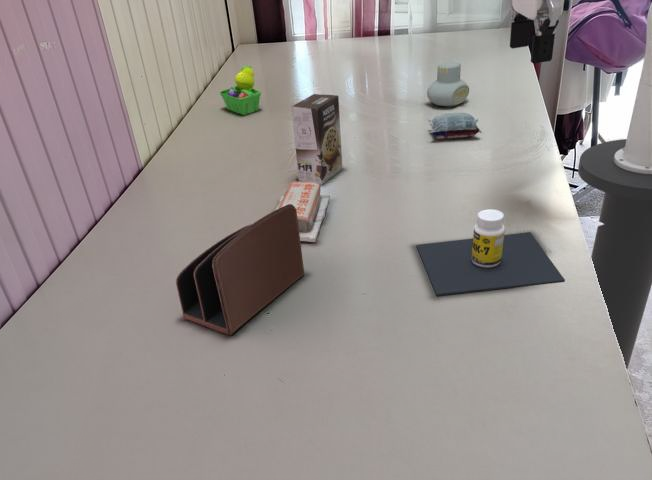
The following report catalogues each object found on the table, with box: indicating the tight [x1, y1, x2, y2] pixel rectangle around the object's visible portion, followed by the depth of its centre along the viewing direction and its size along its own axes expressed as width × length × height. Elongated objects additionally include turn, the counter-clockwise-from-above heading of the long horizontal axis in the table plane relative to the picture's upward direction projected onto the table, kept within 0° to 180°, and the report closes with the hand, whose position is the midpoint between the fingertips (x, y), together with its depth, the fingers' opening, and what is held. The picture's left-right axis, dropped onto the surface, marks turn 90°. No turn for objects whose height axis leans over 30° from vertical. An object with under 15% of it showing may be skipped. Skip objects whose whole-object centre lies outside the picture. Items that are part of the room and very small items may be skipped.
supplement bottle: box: [472, 208, 506, 268], centre depth 102 cm, size 5×5×8 cm
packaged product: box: [275, 180, 331, 243], centre depth 122 cm, size 18×5×10 cm
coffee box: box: [291, 93, 343, 186], centre depth 135 cm, size 9×6×16 cm
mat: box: [416, 231, 566, 297], centre depth 105 cm, size 20×16×1 cm
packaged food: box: [427, 112, 482, 140], centre depth 150 cm, size 9×12×5 cm
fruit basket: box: [219, 65, 262, 116], centre depth 179 cm, size 11×9×11 cm
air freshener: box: [426, 60, 470, 108], centre depth 167 cm, size 11×8×10 cm
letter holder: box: [175, 204, 305, 336], centre depth 100 cm, size 10×20×14 cm, turn 145°
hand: (529, 54), depth 104 cm, fingers open, 9 cm apart
